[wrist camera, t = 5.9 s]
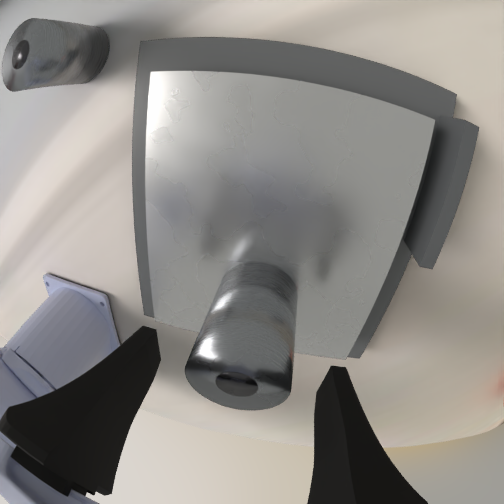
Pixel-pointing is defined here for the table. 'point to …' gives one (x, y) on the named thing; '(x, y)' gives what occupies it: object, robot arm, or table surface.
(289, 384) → the spacer
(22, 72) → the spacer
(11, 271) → the table surface
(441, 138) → the scale
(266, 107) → the pan
